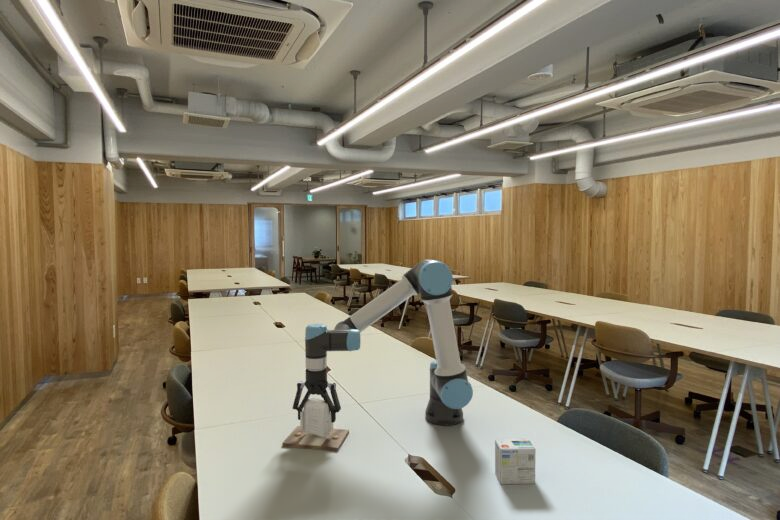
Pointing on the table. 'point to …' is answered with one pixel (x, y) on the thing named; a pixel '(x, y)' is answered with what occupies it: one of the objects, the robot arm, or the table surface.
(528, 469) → the light bulb box
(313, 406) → the photo printer
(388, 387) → the table surface
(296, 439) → the board
